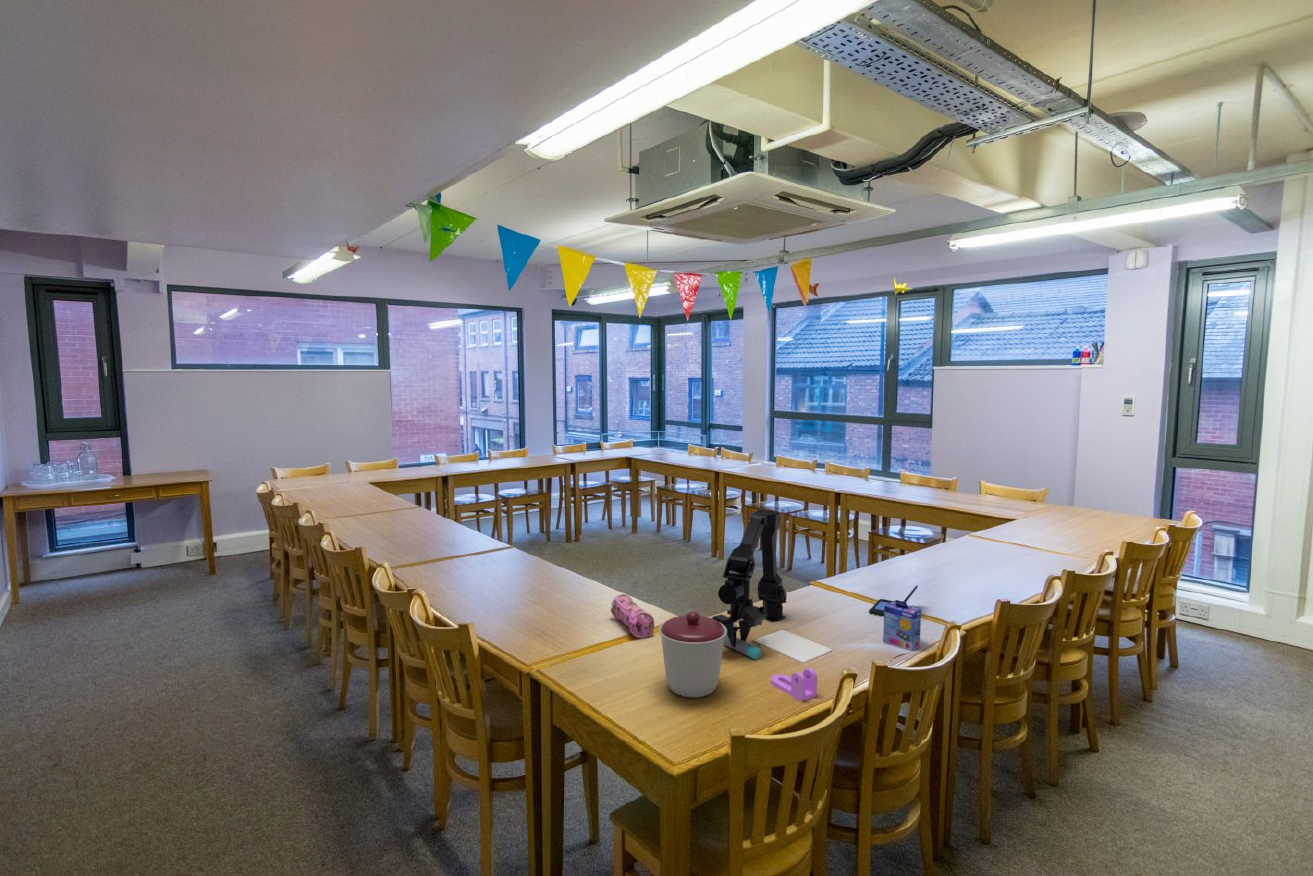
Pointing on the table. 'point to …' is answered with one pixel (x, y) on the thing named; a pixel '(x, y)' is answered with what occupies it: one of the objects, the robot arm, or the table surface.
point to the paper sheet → (793, 646)
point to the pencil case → (632, 616)
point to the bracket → (797, 684)
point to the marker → (744, 647)
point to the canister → (692, 653)
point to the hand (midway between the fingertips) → (738, 645)
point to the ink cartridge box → (902, 625)
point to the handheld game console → (879, 606)
